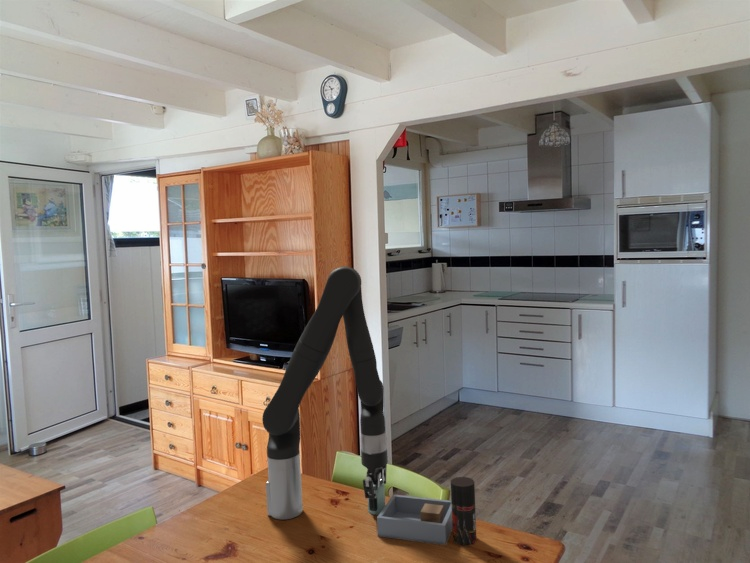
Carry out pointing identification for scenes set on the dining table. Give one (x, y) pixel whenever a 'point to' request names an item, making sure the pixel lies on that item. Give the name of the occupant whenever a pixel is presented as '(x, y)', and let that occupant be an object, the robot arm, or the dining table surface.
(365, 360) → the robot arm
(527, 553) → the dining table surface
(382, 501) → the teal cylinder
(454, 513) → the deodorant
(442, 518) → the walnut cube
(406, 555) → the dining table surface
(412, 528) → the box
